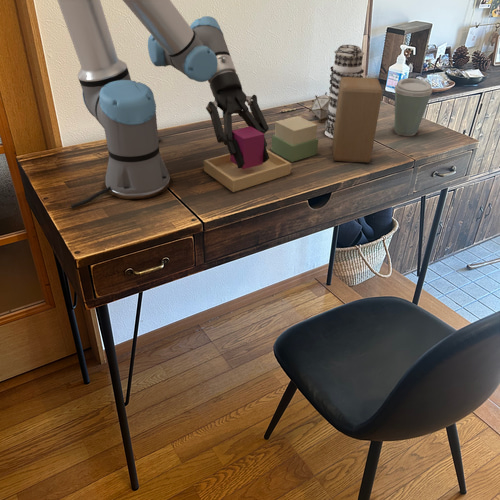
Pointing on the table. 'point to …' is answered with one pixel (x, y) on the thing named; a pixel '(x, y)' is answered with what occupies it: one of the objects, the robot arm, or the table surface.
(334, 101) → the leaning tower model
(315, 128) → the cream block
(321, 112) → the game die
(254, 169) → the tray
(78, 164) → the table surface
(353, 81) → the wooden block
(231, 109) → the robot arm
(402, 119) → the disposable coffee cup
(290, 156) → the sage block
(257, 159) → the mulberry block
